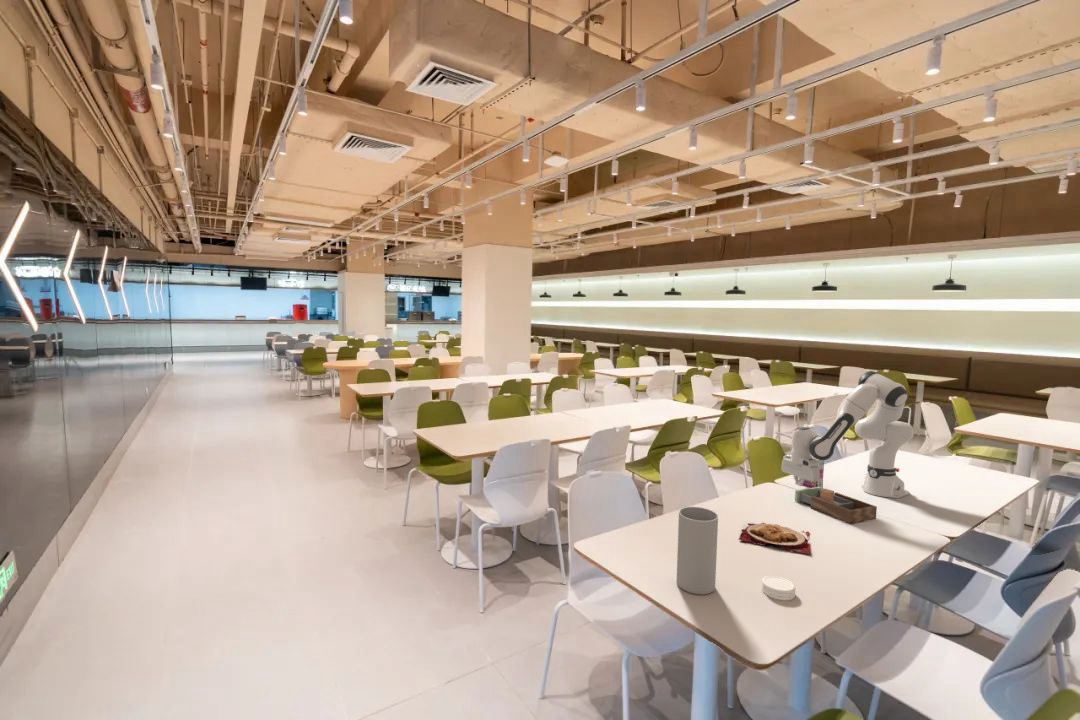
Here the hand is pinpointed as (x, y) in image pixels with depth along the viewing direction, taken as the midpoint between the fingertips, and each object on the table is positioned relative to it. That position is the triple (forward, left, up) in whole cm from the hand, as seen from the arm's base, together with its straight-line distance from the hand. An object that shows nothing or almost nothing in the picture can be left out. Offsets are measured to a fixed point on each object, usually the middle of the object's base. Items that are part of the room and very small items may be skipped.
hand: (798, 485), depth 254 cm
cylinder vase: (+107, +52, -6) cm, 119 cm away
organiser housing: (0, +24, -6) cm, 25 cm away
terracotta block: (0, +16, -4) cm, 16 cm away
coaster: (+84, +65, -7) cm, 106 cm away
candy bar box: (-20, -10, -6) cm, 24 cm away
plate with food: (+50, +32, -7) cm, 60 cm away
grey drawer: (0, +15, -6) cm, 16 cm away
